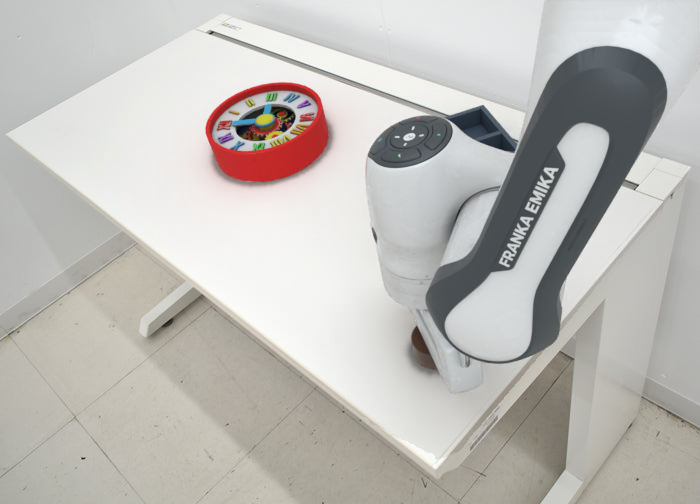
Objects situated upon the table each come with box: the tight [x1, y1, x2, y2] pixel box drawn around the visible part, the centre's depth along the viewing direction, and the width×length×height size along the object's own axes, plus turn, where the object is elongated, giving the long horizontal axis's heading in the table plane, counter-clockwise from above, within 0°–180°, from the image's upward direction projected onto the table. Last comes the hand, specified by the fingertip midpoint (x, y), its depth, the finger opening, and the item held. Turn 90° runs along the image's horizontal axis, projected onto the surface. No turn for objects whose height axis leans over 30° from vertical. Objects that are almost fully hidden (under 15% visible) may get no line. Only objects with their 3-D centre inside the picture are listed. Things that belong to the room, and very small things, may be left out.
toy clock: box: [204, 81, 330, 183], centre depth 103 cm, size 20×6×20 cm
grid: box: [442, 104, 518, 152], centre depth 92 cm, size 15×15×4 cm
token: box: [410, 325, 438, 370], centre depth 71 cm, size 5×5×3 cm
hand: (433, 342), depth 71 cm, fingers closed on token, 5 cm apart
